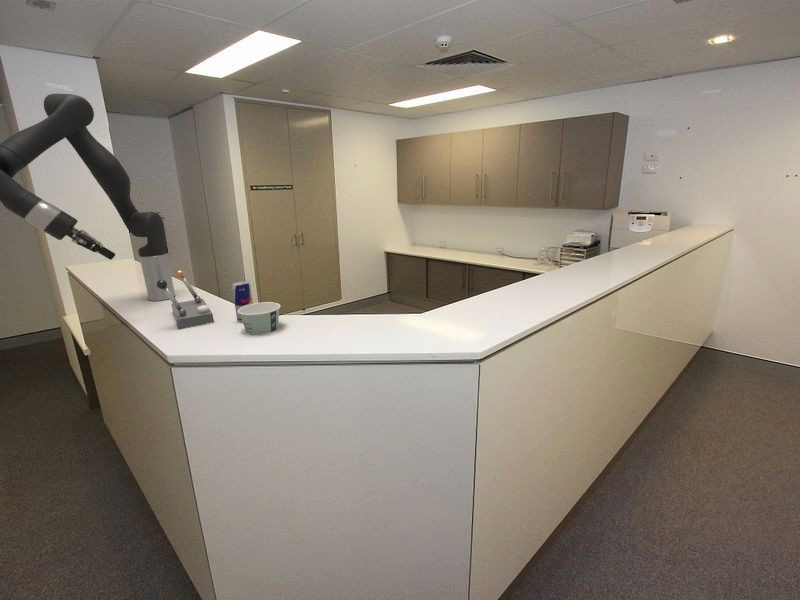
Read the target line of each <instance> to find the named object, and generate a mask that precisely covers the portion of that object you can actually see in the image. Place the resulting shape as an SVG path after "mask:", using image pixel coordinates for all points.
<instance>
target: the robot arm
mask: <svg viewBox="0 0 800 600" xmlns="http://www.w3.org/2000/svg"><path fill="white" fill-rule="evenodd" d="M43 108H44V109H43V110H44V111H45V114H46V116H47V117H46V118H44V119H43V120H41V121H39V122H37V123H35V124H33V125H31V126H28V127H26V128H23V129H22V130H19V131H18V132H15V133H13V134H12V135H10V136H9V137H7V138H6V139H4V140H3V141H2V142H0V203H2V205H3V206H4V208H6V210H8V211H10V212H11V213H14V215H17V216H18V217H20V218H22V219H24V220H26V221H27V222H28V223H29V224H30V225H32V226H33V227H36V228H37V229H39V230H40V231H43V232H44V233H46V234H47V235H50V237H53V238H55V239H56V240H58V241H62V240H63V239H64V238H65V237H66V236H68V237H69V238H70V239H71V242H72V243H73V244H76V245H77V246H80V247H83V248H84V249H86V250H89V251H91V252H93V253H96V254H100V255H102V256H103V257H105V258H106V259H108V260H111V261H112V260H113V259H114V258H115V256H116V253H115V252H113V251H112V250H110V249H109V248H107V247H105V246H104V245H103V244H102V242H100V241H98V240H97V239H96V238H95V237H93V236H92V235H90V234H89V232H87V231H85V230H83V229H78V228H76V227H75V226H76V225H77V223H78V222H79V221H78V219H77V218H75V217H73V216H72V215H71V214H68V213H67V212H65V211H64V210H62V209H60V208H59V207H57V206H56V205H54V204H52V203H50V202H48V201H46V200H45V199H42V198H41V197H39V196H37V195H36V194H34V193H32V192H31V191H29V190H27V189H26V188H24V187H23V185H21V184H20V183H19V182H17V181H16V180H15V179H13V178H14V177H15V176H16V174H18V173H19V172H20V171H21V170H23V169H25V168H26V167H27V166H29V164H31V163H32V162H33V161H35V160H36V159H37V158H38V157H39V156H40V155H42V154H44V153H45V152H46V151H47V150H48V149H50V148H52V147H54V145H56V144H57V143H59V142H60V141H62V140H64V139H66V140H67V142H69V144H70V145H71V146H72V148H73V149H74V150H75V151H76V153H77V155H78V156H79V158H80V159H81V160H82V162H83V163H84V165H85V166H86V167H87V168H88V170H89V173H91V175H92V176H93V178H94V179H95V180H96V182H97V183H98V185H99V186H100V187H101V189H102V190H103V191H104V193H105V195H106V196H107V198H108V199H109V200H110V202H111V203H112V205H113V207H115V210H116V211H117V213H118V216H120V218H121V220H122V221H123V223H124V225H125V227H126V229H127V230H128V232H129V233H130V234H131V235H132V236H134V237H136V238H147V243H146V244H145V245H144V246H141V247H139V248H138V250H137V252H138V256H139V257H138V258H139V261H140V265H141V270H142V271H141V272H142V274H143V279H144V283H145V288H146V292H147V297H148V300H149V301H152V302H156V301H157V302H159V301H160V302H161V301H165V300H170V299H169V298H168V296H167V295H166V294H165V292H164V291H163V290H162V289H159V288H158V287H157V285H156V284H157V282H158V281H159V280H165V281H166V282H167V288H168V289H169V290H170V292H171V293H172V295H173V296H175V297H176V293H175V292H176V291H175V287H174V286H175V285H174V282H173V277H172V271H171V267H170V263H169V262H170V261H169V256H168V254H167V253H168V252H167V246H168V245H167V244H168V243H167V238H166V237H167V236H166V229H165V223H164V220H163V218H162V216H161V215H160V214H159V213H158V212H155V211H142V212H140V211H138V209H137V208H136V206H135V205H134V202H133V201H132V199H131V179H130V177H129V174H128V173H127V171H126V170H125V168H124V167H123V165H122V164H121V162H120V160H119V159H117V157H116V156H115V155H114V154H113V153H112V152H111V151H109V150H108V148H106V147H105V146H104V145H103V144H102V143H100V141H98V140H97V139H96V138H95V137H94V135H93V134H91V132H90V131H89V129H88V128H87V126H90V125H91V123H92V122H93V120H94V116H95V111H94V108H93V106H92V104H91V103H90V102H89V101H88V100H87V99H86V98H85V97H83V96H80V95H77V94H74V93H73V94H72V93H51V94H48V95H46V96H45V97H44V100H43Z"/></svg>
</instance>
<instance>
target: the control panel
mask: <svg viewBox="0 0 800 600" xmlns="http://www.w3.org/2000/svg"><path fill="white" fill-rule="evenodd" d="M178 303H179V304H180V306H181V307H182V308H184V309H185V311H186V315H185V316H180V315H179V313H178V310H177V309H176V307H175V306H174V304H173V303H171V308H172V310H171V311H172V314H173V317H174V320H175V322H176V326H177V328H178V330H182V329H185V328H186V327H188V328H191V326H193V327H197V325H198V326H202V324H203V325H206V324H207V323H208V324H211V323H215V322H214V321H215V320H214V315H213V314H214V313H213V312H212V310H211V308H209V311H208V312H205V313H198V308H197V307H198V306H202V305H208V304H207V303H206V301H205V300H204V298H201V302H200V303H197V302H195V300H194V299H191V300H187V301H180V302H179V301H178ZM181 328H182V329H181Z"/></svg>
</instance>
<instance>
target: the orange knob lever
mask: <svg viewBox="0 0 800 600" xmlns="http://www.w3.org/2000/svg"><path fill="white" fill-rule="evenodd" d="M185 275H186V273H185V271H184V270H182V269H178V270H176V271H175V277H176V278H178V279H180V280H181V281H182V283H183V285H185V287H186V289H187V290H188V292H189V293H190V294H191V295H192V297H193V300H195V302H197V303H200V302H201V299H202V298H201V297H200V296H199V295H198V294H197V292H196V291H195V289H194V288H193V287H192V285H191V283H190V282H189V281H188V279H187V277H186V276H185Z"/></svg>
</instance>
